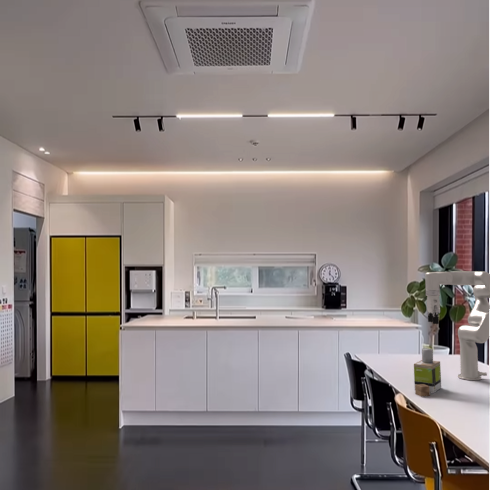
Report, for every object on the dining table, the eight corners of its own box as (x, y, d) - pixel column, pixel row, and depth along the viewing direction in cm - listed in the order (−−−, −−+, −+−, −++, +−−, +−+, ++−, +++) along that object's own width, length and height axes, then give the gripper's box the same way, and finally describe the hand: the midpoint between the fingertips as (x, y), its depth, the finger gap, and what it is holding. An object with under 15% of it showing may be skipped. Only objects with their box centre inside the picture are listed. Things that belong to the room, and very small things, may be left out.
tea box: (423, 385, 260) (422, 358, 261) (441, 388, 253) (441, 361, 254) (414, 390, 248) (413, 363, 249) (433, 393, 242) (432, 365, 243)
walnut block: (423, 393, 243) (423, 384, 243) (429, 396, 238) (429, 386, 238) (415, 394, 241) (415, 384, 242) (421, 396, 237) (420, 386, 237)
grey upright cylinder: (431, 361, 254) (431, 348, 255) (434, 363, 249) (434, 350, 249) (420, 361, 255) (420, 348, 255) (423, 363, 249) (423, 349, 250)
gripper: (443, 294, 260) (444, 324, 259) (435, 292, 277) (435, 321, 276) (430, 294, 261) (430, 324, 260) (422, 292, 278) (422, 321, 277)
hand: (433, 322), depth 268 cm, fingers open, 9 cm apart
